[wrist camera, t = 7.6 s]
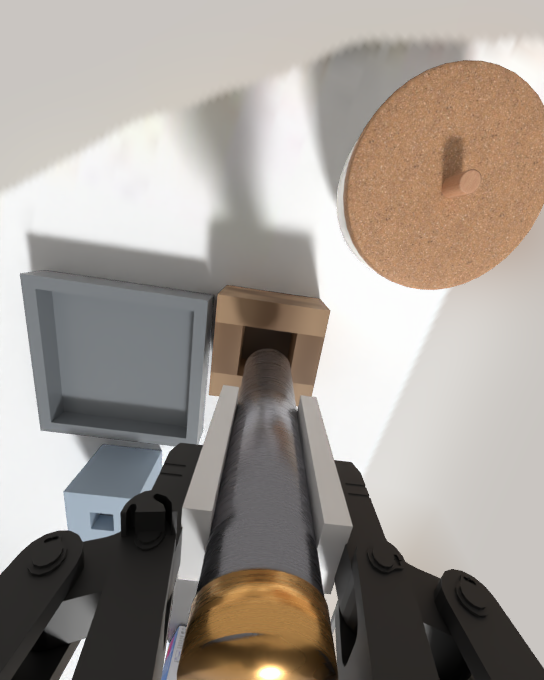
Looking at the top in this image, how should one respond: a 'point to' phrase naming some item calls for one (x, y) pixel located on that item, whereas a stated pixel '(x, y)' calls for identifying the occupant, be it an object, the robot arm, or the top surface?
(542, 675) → the robot arm
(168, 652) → the ink cartridge box
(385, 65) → the top surface
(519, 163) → the lidded jar
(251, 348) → the go block
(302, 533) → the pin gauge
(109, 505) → the block
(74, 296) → the tray
